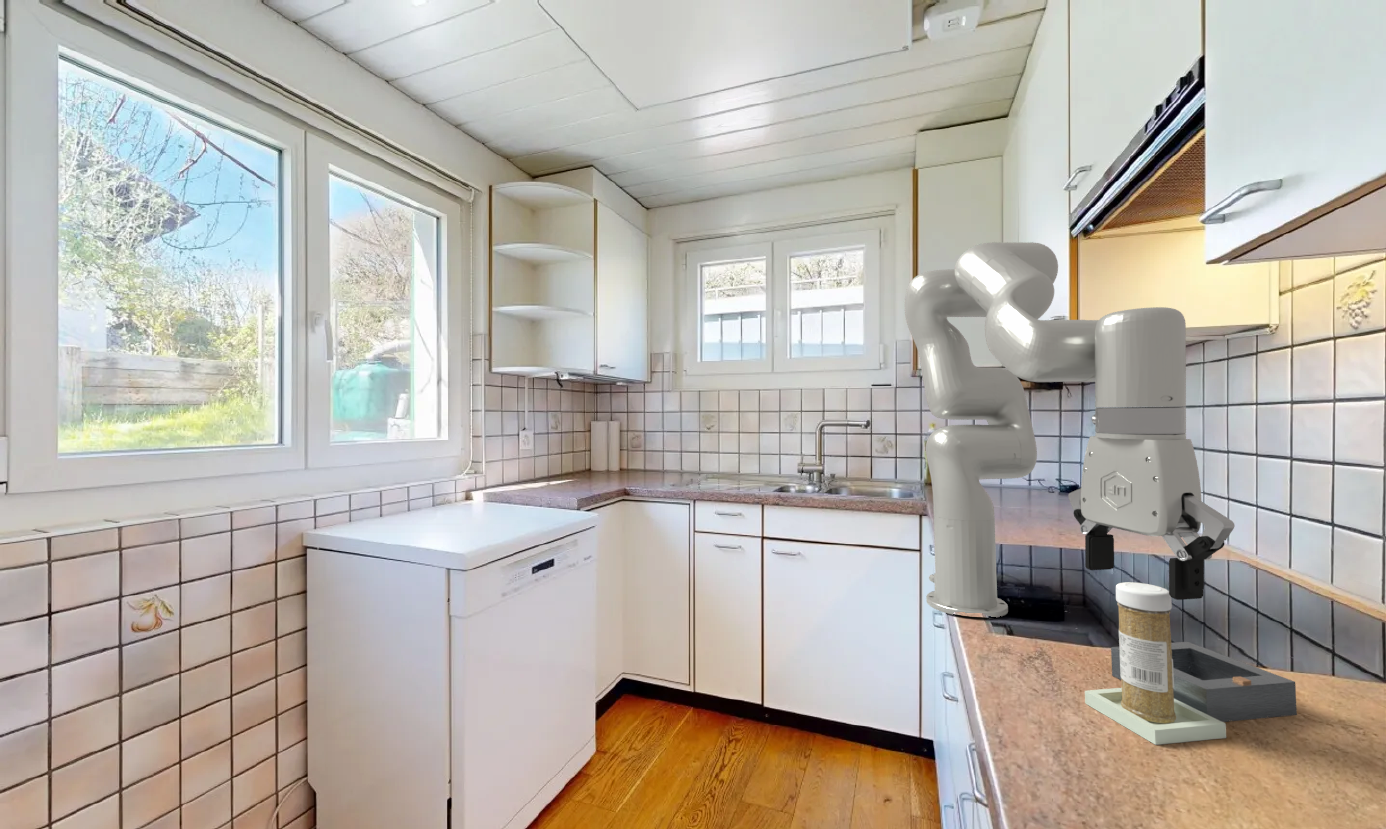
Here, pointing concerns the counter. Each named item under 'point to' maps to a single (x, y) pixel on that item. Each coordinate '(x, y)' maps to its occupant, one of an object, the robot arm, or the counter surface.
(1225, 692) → the block
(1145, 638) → the spice jar
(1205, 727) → the tray
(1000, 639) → the counter surface
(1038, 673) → the counter surface
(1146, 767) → the counter surface
